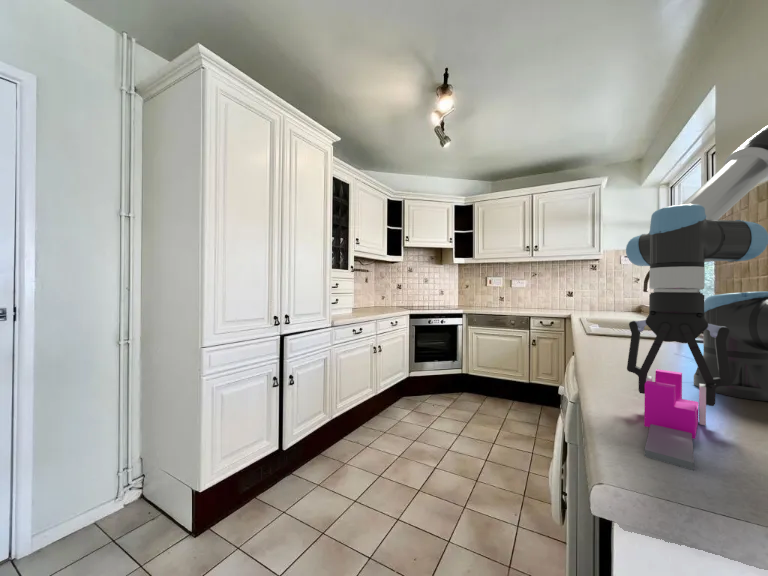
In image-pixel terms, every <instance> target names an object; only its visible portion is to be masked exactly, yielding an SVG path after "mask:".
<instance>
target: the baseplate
mask: <svg viewBox="0 0 768 576" xmlns="http://www.w3.org/2000/svg"><path fill="white" fill-rule="evenodd" d="M693 445H694V444H693V438H692V433H689V432H684V431H680V430H675V429H671V428H666V427H662V426H657V425H653V424H650V427H649V429H648V433H647V438H646V441H645V447H644V457H645V456H646V458H650V459H652V458H653V459H654V460H656V461H661V462H664V463H667V464H671V465H672V466H673V465H675V466H677V467H681V468H684V469H688V470H691V471H695V458H694V446H693ZM653 459H652V460H653Z"/></svg>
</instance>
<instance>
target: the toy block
mask: <svg viewBox="0 0 768 576" xmlns="http://www.w3.org/2000/svg"><path fill="white" fill-rule="evenodd" d="M654 379H655V380H654V381H653V380H652V381H647V382H646V383H645V394H644V418H643V419H644V420H643V421H644V427H646V428H650V424H653V425H657V426H662V427H666V428H671V429H675V430H680V431H684V432H689V433H692V440H693V439H694V440H695V439H696V435H697V429H698V426H699V425H698V424H699V401H696V400H690V399H683V372H679V371H672V370H665V369H658V368H656V369H655V375H654Z"/></svg>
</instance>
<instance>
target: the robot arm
mask: <svg viewBox="0 0 768 576" xmlns="http://www.w3.org/2000/svg"><path fill="white" fill-rule="evenodd" d="M767 181H768V125H766V126H765V127H763V128H762V129H760V130H759V131H757V132H756V133H755V134H754V135H752V136H750V137H749V138H748V139H746V141H745V142H743V143H742V144H741V145H739V146H738V147H737V148H736V149H735V150H734V151H733V152H732V153H731V154H729V155H728V156H727V158H725V161H724V162H723V167H722V168H721V169H719V170H718V171H717V172H716V173H715V174H714V175H713V176H711V178H709V179H708V180H707V181H706V182H705V183H704V184H703V185H702V186H700V187H699V188H698V189H697V190H696V191H695V192H694V193H693V194H692V195H690V196H689V197H688V198H687V199H686V200H685V201H683V202H682V204H679V205H670V206H665V207H662V208H659V209H657V210H655V211H653V213H652V214H651V217H650V223H649V225H650V226H649V232H648V233H642V234H639V235H636V236H634V237H632V238H631V239H630V240H629V241H628V242H627V244H626V247H625V254H626V257H627V259H628V261H630V263H631V264H633V265H634V266H638V267H649V282H648V283H649V289H650V290H653V291H652V292H650V294H649V302H648V303H649V304H648V310H649V311H648V316H647V317H646V319H643V320H632V321H630V322H629V323H628V326H629V329H630V333H631V334H630V335H631V336H630V343H629V352H628V357H627V365H626V370H627V372H629V373H633V374H634V375H637V377H638V392H639V394H643V395H645V383H646V382H647V381H653V376H652V375H651V376H650V375H648V374H649V371H650V369H651V367H652V365H653V364H654V361H655V359H656V357H657V355H658V353H659V351H660V349H661V347H662V345H663V343H664V342H667V343H670V342H677V343H680V344H687V346H688V348H689V350H690V352H691V354H692V356H693V358H694V359H693V360H695V364H696V366H697V368H696V370H695V373H694V374H693V385H694V386H695V385H696V386H695V387H697V386H698V387H697V388H698V389H699V390H698V393H699V394H698V397H699V398H698V424H699V425H702V426H706V425H707V424H706V423H707V422H706V421H707V406H711V407H714V406H715V405H716V394H719V395H723V396H728V397H733V398H740V399H745V400H746V399H747V400H752V401H753V400H754V401H762V402H768V291H746V292H730V293H729V292H727V293H721V294H713V295H710V296H707V297H706V298H705V294H704V293H703V292H701V291H700V290H703V289H705V286H706V285H705V284H706V283H705V276H706V275H705V270H706V269H705V267H706V266H705V263H707V262H708V263H710V262H730V263H732V262H744V261H750V260H752V259H755V258H756V257H759V256H760V255H761V254H762V253H763V252H764V251H766V249H767V247H768V231H767V229H766V228H765V227H764V226H763V225H761V224H759V223H757V222H753V221H748V220H743V219H742V220H741V219H735V220H732V219H730V220H728V219H727V220H726V219H721V218H722V217H723V216H724V215H725V214H726V213H727V212H728V211H730V209H732V208H733V207H734V206H735V205H736V204H737V203H738V202H739V201H741V200H742V199H743V198H744V197H745V196H746V195H747V194H749V192H750V191H752V190H753V189H754V188H755V187H756V186H757V185H758V184H761V183H764V182H767ZM646 326H647V327H648V328H649V329H650V330H651V331H652V333H654V335H655V336H656V337H655V339H654V340H653V342H652V345H651V346H650V348H649V351H648V353H647V355H646V357H645V359H644V361H643V363H642V365H641V367H639V366H637V363H638V356H639V348H640V340H641V333H642V332H643V331H644V330H645V327H646ZM702 333H703V340H702V341H703V352H702V351H701V349H700V347H699V344H698V342H697V340H696V339H697V338H698V337H699V336H700V335H701V334H702Z"/></svg>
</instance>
